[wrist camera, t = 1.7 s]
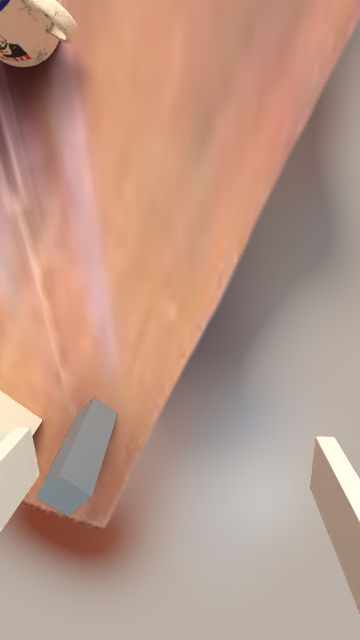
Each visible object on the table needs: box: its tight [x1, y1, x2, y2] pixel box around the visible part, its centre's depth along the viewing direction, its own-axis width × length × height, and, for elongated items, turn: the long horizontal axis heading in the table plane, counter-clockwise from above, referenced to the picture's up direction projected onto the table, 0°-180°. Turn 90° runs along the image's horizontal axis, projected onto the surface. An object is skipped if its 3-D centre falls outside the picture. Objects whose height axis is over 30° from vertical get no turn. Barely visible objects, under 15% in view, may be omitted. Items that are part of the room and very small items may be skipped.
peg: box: [36, 397, 117, 517], centre depth 37 cm, size 4×4×13 cm
